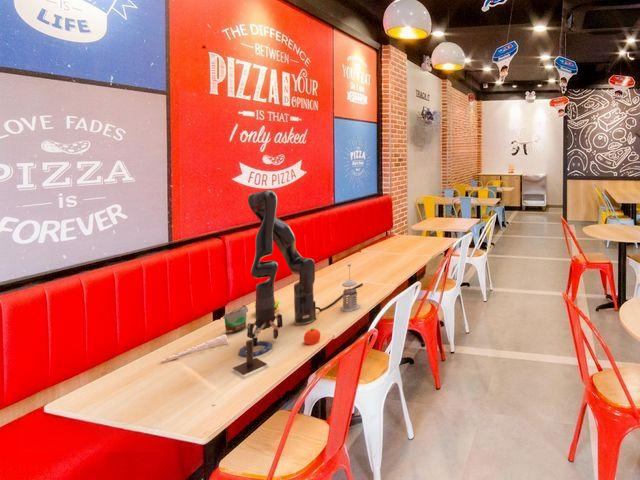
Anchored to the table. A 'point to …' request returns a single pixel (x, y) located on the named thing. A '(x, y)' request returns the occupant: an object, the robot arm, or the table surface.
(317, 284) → the table surface
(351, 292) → the french press
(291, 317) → the table surface
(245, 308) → the food container
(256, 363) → the peg stand
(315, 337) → the clementine
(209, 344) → the unicorn horn
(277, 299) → the hamburger
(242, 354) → the ring
